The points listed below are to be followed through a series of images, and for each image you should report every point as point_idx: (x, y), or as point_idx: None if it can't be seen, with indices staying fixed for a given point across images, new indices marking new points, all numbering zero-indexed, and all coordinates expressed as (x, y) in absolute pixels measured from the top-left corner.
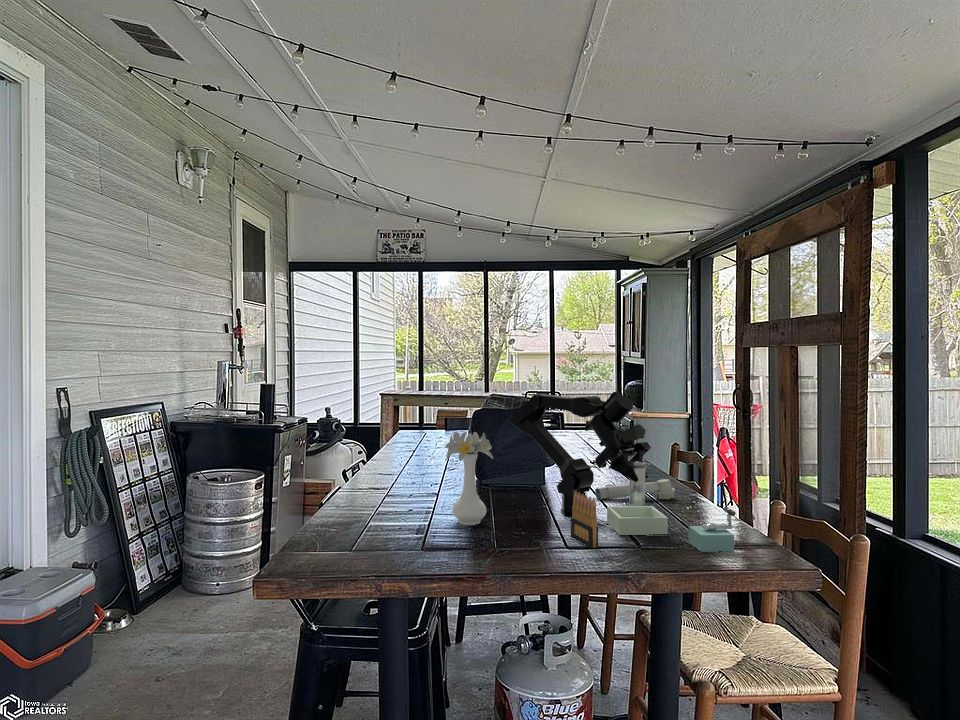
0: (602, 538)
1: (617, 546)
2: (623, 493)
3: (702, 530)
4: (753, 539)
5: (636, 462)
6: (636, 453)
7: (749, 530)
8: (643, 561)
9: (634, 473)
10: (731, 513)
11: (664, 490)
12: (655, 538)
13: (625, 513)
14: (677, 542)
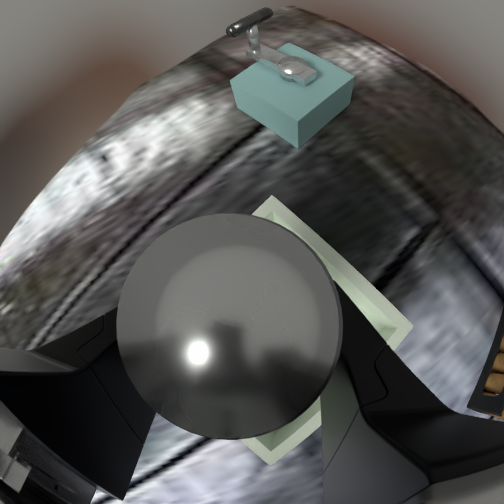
0: (444, 345)
1: (471, 268)
2: None
3: (311, 85)
4: (173, 85)
5: (236, 341)
6: (9, 429)
7: (110, 120)
8: (492, 169)
9: (347, 307)
10: (272, 12)
11: None
12: (334, 229)
13: None
14: (322, 167)
